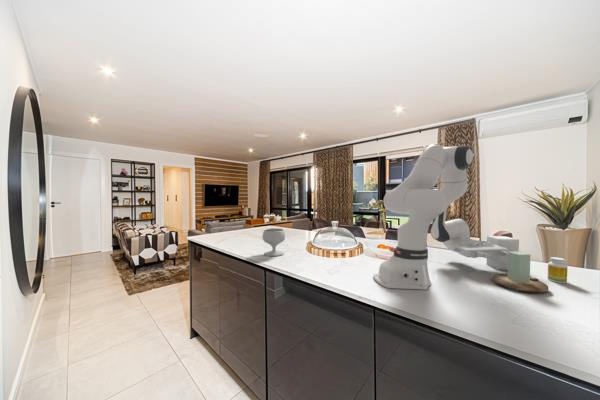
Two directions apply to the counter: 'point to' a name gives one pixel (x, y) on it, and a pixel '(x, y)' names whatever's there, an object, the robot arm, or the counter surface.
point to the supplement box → (502, 241)
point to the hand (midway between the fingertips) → (498, 256)
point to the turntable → (532, 286)
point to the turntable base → (519, 290)
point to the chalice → (273, 240)
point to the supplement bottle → (557, 270)
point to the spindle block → (519, 267)
